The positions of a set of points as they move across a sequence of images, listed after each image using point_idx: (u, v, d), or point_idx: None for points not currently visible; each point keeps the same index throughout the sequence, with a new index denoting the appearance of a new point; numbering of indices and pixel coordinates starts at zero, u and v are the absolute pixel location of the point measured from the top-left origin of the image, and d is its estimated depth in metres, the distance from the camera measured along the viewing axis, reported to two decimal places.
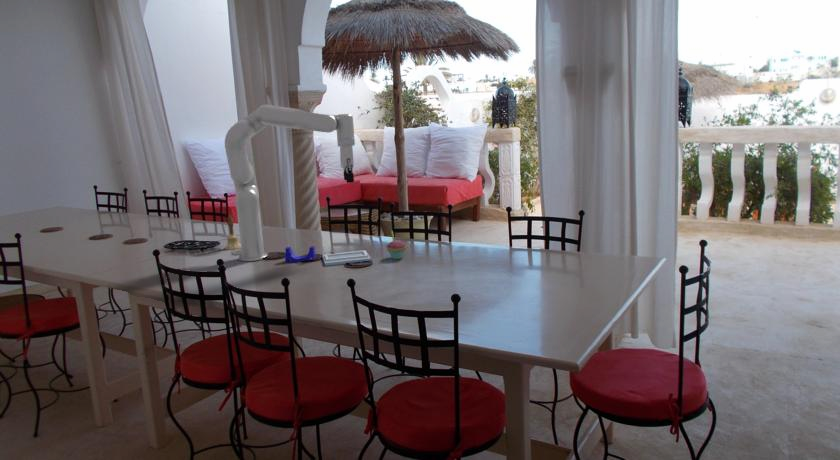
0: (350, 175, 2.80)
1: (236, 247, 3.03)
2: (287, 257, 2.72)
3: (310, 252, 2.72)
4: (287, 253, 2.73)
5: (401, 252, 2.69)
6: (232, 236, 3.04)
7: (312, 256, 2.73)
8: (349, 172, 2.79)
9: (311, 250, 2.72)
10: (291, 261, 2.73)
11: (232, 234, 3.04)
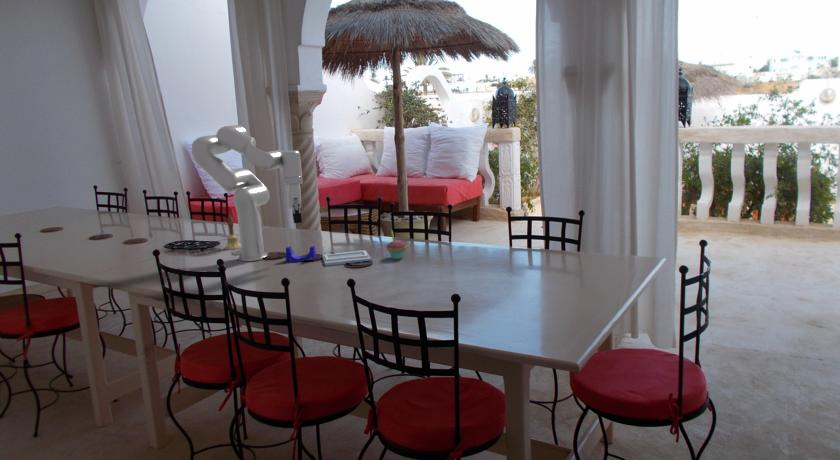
0: (297, 215, 2.64)
1: (236, 247, 3.03)
2: (287, 257, 2.73)
3: (310, 252, 2.73)
4: (287, 253, 2.74)
5: (401, 252, 2.69)
6: (232, 236, 3.04)
7: (312, 256, 2.73)
8: (296, 212, 2.64)
9: (312, 250, 2.73)
10: (291, 261, 2.73)
11: (232, 234, 3.04)
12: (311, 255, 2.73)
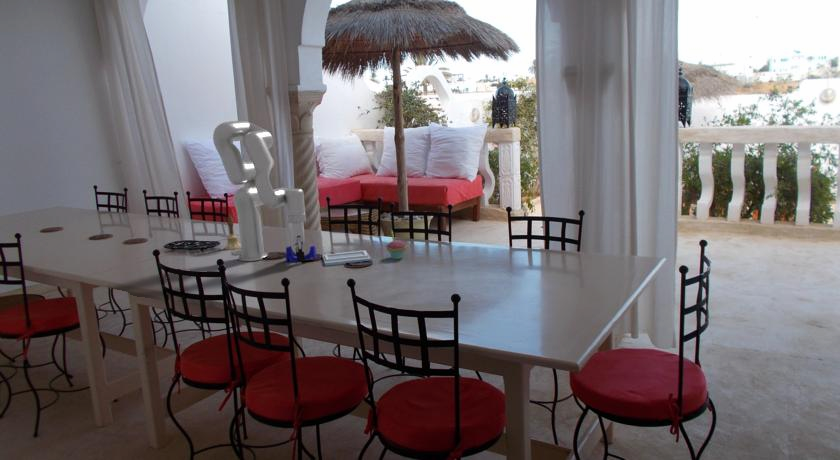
0: (300, 254, 2.68)
1: (236, 247, 3.03)
2: (288, 256, 2.73)
3: (311, 251, 2.73)
4: (288, 252, 2.74)
5: (401, 252, 2.69)
6: (232, 236, 3.04)
7: (313, 255, 2.74)
8: (299, 251, 2.68)
9: (312, 250, 2.73)
10: (292, 260, 2.73)
11: (232, 234, 3.04)
12: (311, 255, 2.74)
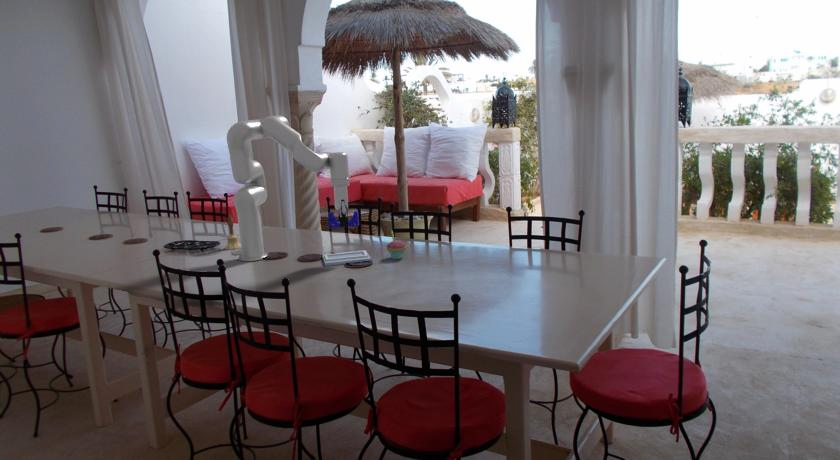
0: (344, 219, 2.66)
1: (236, 247, 3.03)
2: (331, 222, 2.68)
3: (354, 216, 2.69)
4: (330, 218, 2.69)
5: (401, 252, 2.69)
6: (232, 236, 3.04)
7: (356, 220, 2.69)
8: (343, 216, 2.65)
9: (355, 215, 2.68)
10: (335, 226, 2.68)
11: (232, 234, 3.04)
12: (355, 220, 2.69)
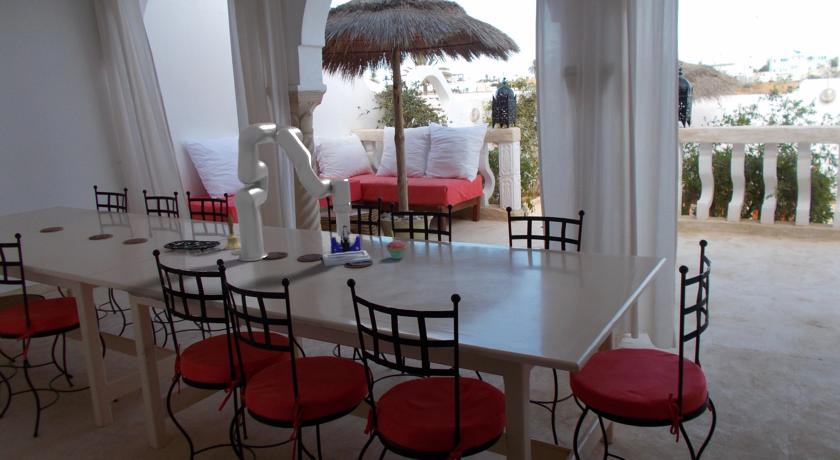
0: (346, 244, 2.68)
1: (236, 247, 3.03)
2: (333, 247, 2.70)
3: (356, 242, 2.71)
4: (333, 243, 2.71)
5: (401, 252, 2.69)
6: (232, 236, 3.04)
7: (358, 246, 2.71)
8: (345, 242, 2.67)
9: (358, 240, 2.71)
10: (337, 251, 2.70)
11: (232, 234, 3.04)
12: (357, 245, 2.71)
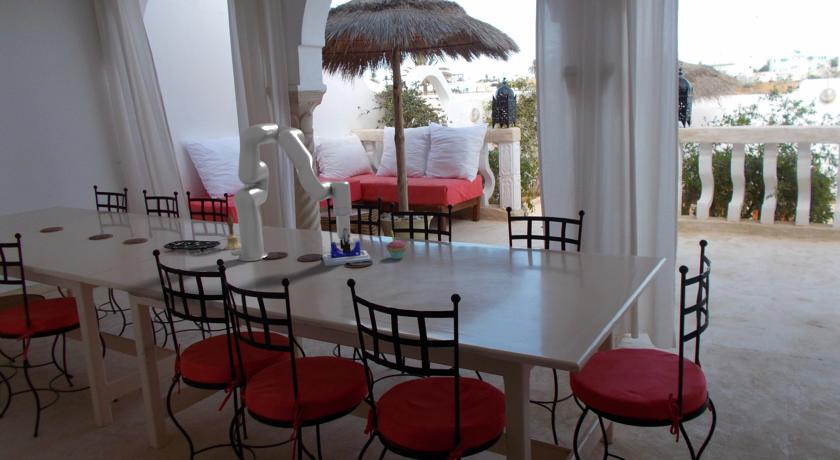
0: (347, 246, 2.67)
1: (236, 247, 3.03)
2: (333, 252, 2.70)
3: (356, 247, 2.71)
4: (333, 248, 2.72)
5: (401, 252, 2.69)
6: (232, 236, 3.04)
7: (358, 251, 2.72)
8: (345, 243, 2.66)
9: (357, 245, 2.71)
10: (337, 256, 2.71)
11: (232, 234, 3.04)
12: (357, 250, 2.72)
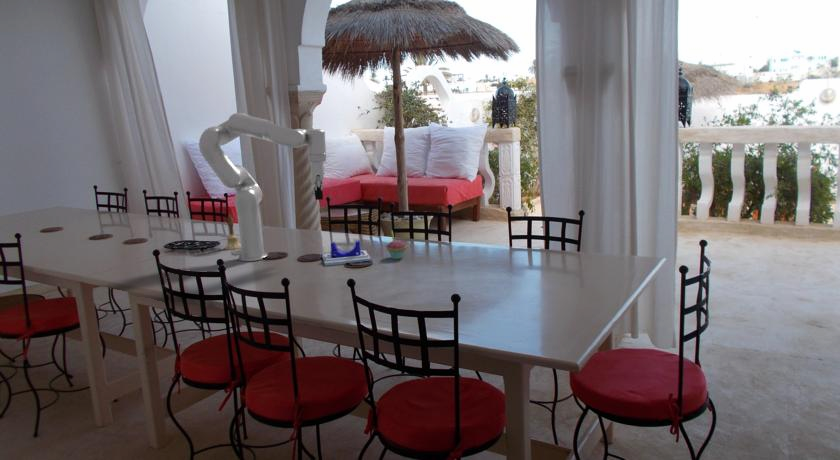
0: (319, 192, 2.73)
1: (236, 247, 3.03)
2: (333, 252, 2.70)
3: (356, 247, 2.72)
4: (333, 248, 2.72)
5: (401, 252, 2.69)
6: (232, 236, 3.04)
7: (358, 251, 2.72)
8: (318, 189, 2.72)
9: (357, 245, 2.71)
10: (337, 256, 2.71)
11: (232, 234, 3.04)
12: (357, 250, 2.72)
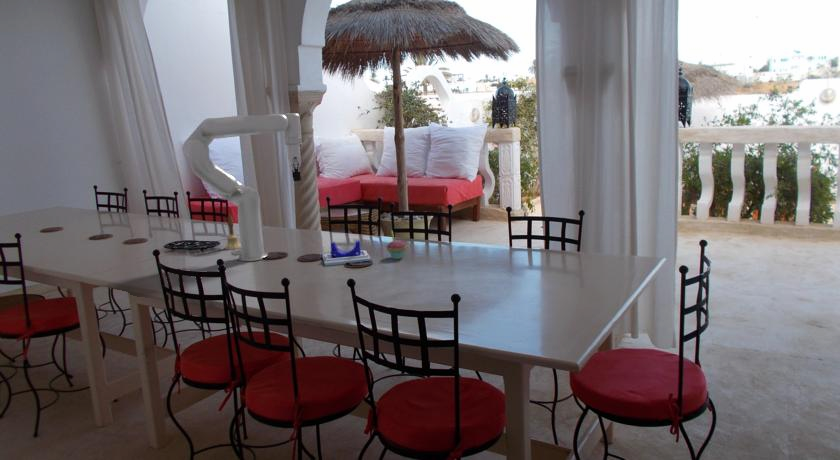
0: (297, 173, 2.83)
1: (236, 247, 3.03)
2: (333, 252, 2.70)
3: (356, 247, 2.72)
4: (333, 248, 2.72)
5: (401, 252, 2.69)
6: (232, 236, 3.04)
7: (358, 251, 2.72)
8: (295, 171, 2.82)
9: (358, 245, 2.72)
10: (337, 256, 2.71)
11: (232, 234, 3.04)
12: (357, 250, 2.72)
